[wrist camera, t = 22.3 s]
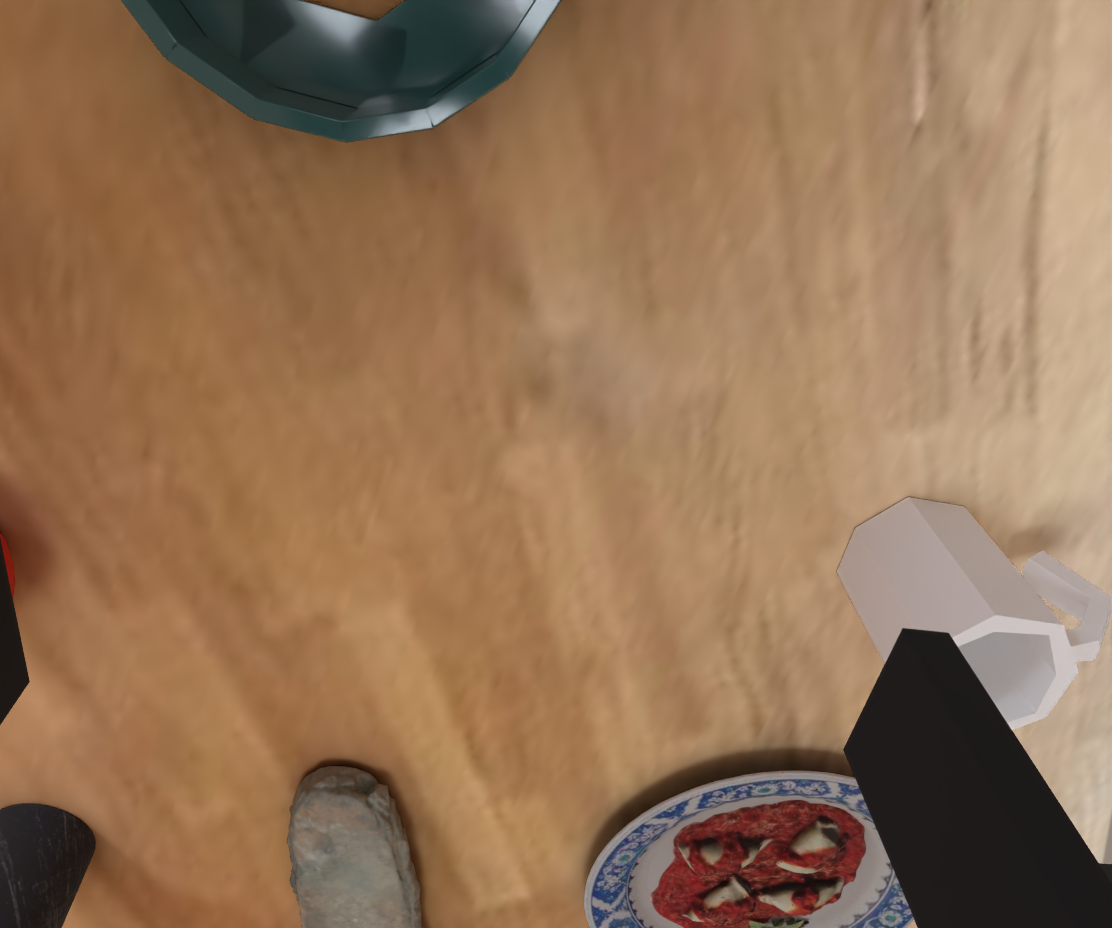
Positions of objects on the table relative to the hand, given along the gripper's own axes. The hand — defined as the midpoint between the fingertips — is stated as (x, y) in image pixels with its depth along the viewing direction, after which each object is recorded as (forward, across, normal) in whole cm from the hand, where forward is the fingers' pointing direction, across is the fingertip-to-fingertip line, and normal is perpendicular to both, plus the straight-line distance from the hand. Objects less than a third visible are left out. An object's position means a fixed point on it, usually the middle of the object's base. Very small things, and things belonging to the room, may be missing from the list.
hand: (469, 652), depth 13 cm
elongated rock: (+29, -3, -54) cm, 62 cm away
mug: (+29, +28, -16) cm, 43 cm away
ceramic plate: (+29, +25, -46) cm, 59 cm away
